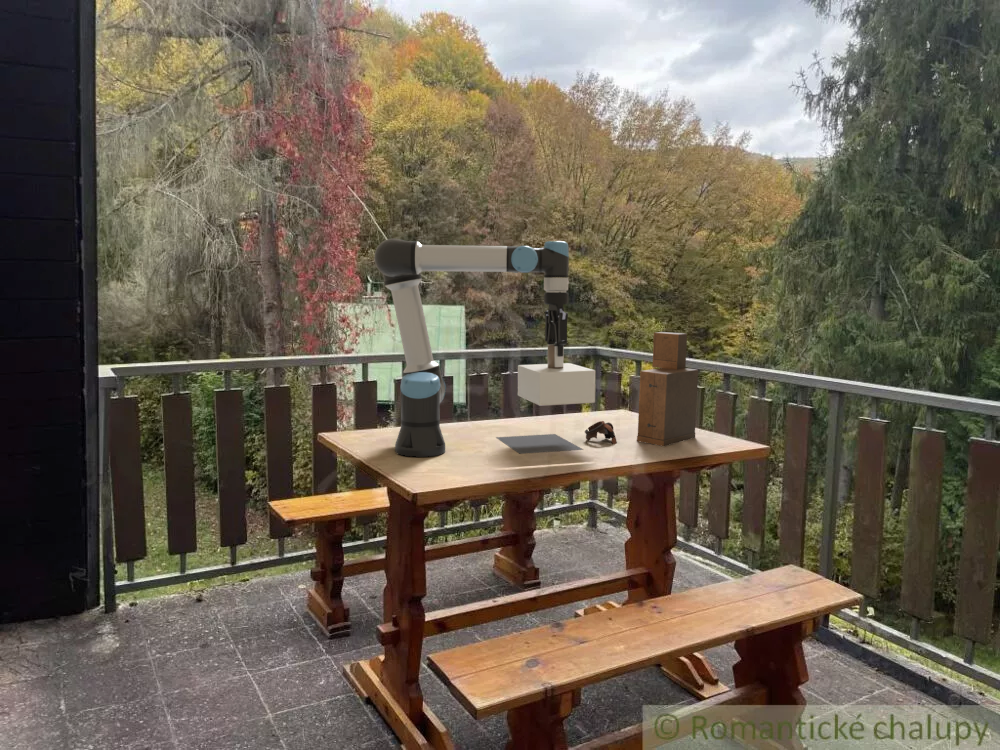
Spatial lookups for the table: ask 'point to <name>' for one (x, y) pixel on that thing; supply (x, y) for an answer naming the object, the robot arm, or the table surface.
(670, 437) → the wooden block stack
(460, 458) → the table surface
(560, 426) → the table surface
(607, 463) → the table surface
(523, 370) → the cover
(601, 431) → the brown curved piece
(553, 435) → the mat
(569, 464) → the table surface
